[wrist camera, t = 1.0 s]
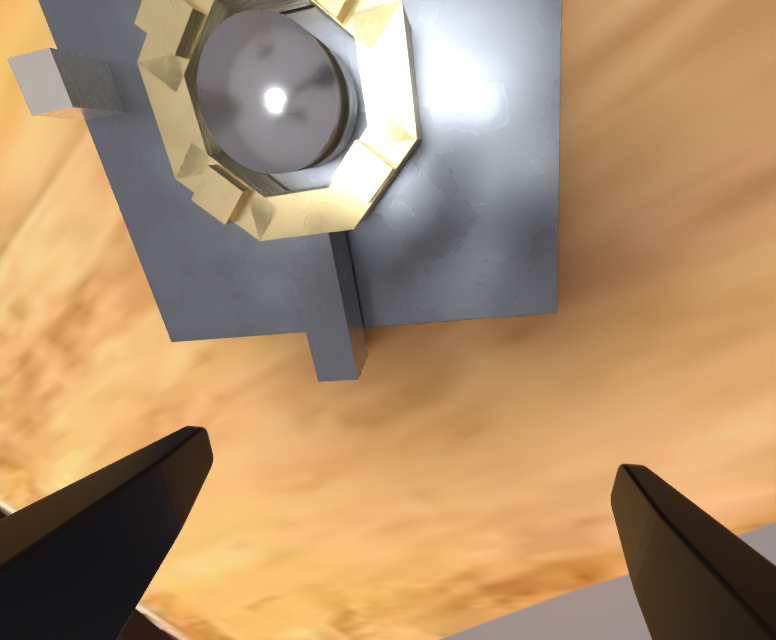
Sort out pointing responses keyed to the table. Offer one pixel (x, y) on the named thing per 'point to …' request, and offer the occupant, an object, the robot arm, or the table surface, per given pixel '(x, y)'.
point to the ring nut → (262, 194)
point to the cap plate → (330, 158)
